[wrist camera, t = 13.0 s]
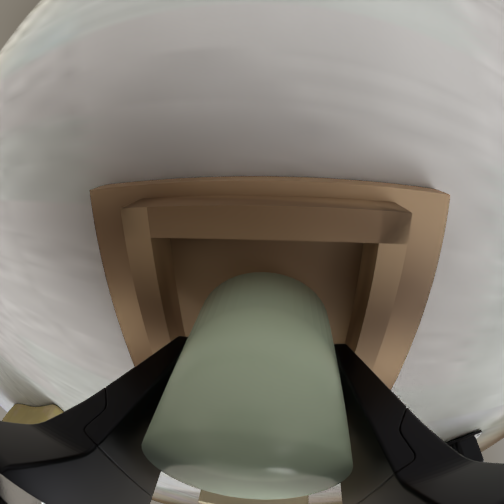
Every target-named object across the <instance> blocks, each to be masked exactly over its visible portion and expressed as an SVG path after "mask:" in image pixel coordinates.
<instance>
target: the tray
mask: <svg viewBox="0 0 504 504" xmlns="http://www.w3.org/2000/svg"><path fill="white" fill-rule="evenodd" d="M90 197H91V204H92V211H93V217H94V223H95V229H96V234H97V240H98V245H99V250H100V254H101V259H102V263H103V267H104V272H105V276H106V280H107V283H108V287H109V291H110V295H111V298H112V302H113V305H114V308H115V312H116V315H117V318H118V321H119V324H120V327H121V330H122V333H123V336H124V339H125V342H126V345H127V347H128V350H129V353H130V355H131V358H132V361H133V363H134V366H135V367H136V366H137V365H138V364H140V363H141V362H143V361H144V360H146V359H147V358H148V357H150V356H151V355H153V354H154V353H155V352H157V351H158V350H160V349H161V348H162V347H164V346H165V345H167V344H168V343H169V342H171V341H172V340H174V339H175V338H176V337H178V336H187V337H188V336H189V334H190V332H191V330H192V328H193V325H194V323H195V321H196V319H197V317H198V315H199V312H200V310H201V308H202V306H203V304H204V302H205V300H206V298H207V297H208V295H209V294H210V293H211V292H212V291H213V290H214V289H215V288H216V287H217V286H218V285H220V284H221V283H223V282H225V281H226V280H228V279H230V278H233V277H235V276H238V275H242V274H246V273H253V272H269V273H277V274H282V275H285V276H288V277H291V278H294V279H296V280H298V281H300V282H302V283H303V284H305V285H306V286H308V287H309V288H310V289H311V290H313V291H314V292H315V293H316V294H317V296H318V297H319V298H320V299H321V301H322V302H323V304H324V306H325V308H326V311H327V315H328V319H329V323H330V328H331V333H332V337H333V342H334V344H342V343H344V344H347V345H348V346H349V347H350V348H351V349H352V350H353V351H354V352H355V353H356V354H357V356H358V357H359V358H360V359H361V360H362V361H363V362H364V363H365V364H366V365H367V366H368V367H369V368H370V369H371V370H372V371H373V372H374V373H375V374H376V375H377V376H378V377H379V378H380V380H381V381H382V382H383V383H384V384H385V385H386V386H387V387H388V388H389V389H390V390H391V389H392V387H393V385H394V383H395V381H396V379H397V376H398V374H399V372H400V370H401V368H402V366H403V363H404V361H405V359H406V357H407V354H408V352H409V349H410V347H411V345H412V342H413V339H414V337H415V334H416V332H417V329H418V326H419V324H420V321H421V318H422V315H423V312H424V309H425V306H426V303H427V300H428V297H429V293H430V290H431V287H432V283H433V279H434V276H435V272H436V268H437V264H438V260H439V256H440V251H441V247H442V242H443V237H444V232H445V226H446V221H447V215H448V208H449V201H450V195H449V194H446V193H444V192H441V191H439V190H436V189H431V188H424V187H417V186H409V185H401V184H392V183H382V182H371V181H360V180H346V179H331V178H311V177H277V176H232V177H198V178H178V179H162V180H149V181H137V182H126V183H117V184H108V185H103V186H100V187H97V188H94V189H92V190H90Z"/></svg>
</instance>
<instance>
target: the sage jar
mask: <svg viewBox="0 0 504 504" xmlns="http://www.w3.org/2000/svg"><path fill="white" fill-rule="evenodd" d="M142 451H143V453H144V455H145V456H146V458H147V459H148V460H149V461H150V462H151V463H152V464H153V465H154V466H155V467H157V468H158V469H159V470H161V471H162V472H164V473H165V474H167V475H169V476H170V477H172V478H174V479H176V480H178V481H180V482H182V483H185V484H187V485H190V486H192V487H195V488H198V489H201V490H204V491H208V492H211V493H215V494H220V495H224V496H230V497H236V498H245V499H262V500H271V499H287V498H295V497H301V496H306V495H311V494H315V493H318V492H321V491H324V490H327V489H329V488H331V487H334V486H336V485H337V484H339V483H341V482H342V481H344V480H345V479H346V478H347V477H348V476H349V475H350V474H351V472H352V470H353V461H352V452H351V444H350V436H349V429H348V422H347V415H346V409H345V403H344V396H343V390H342V385H341V379H340V373H339V368H338V363H337V357H336V352H335V347H334V342H333V337H332V333H331V328H330V323H329V319H328V315H327V311H326V308H325V306H324V304H323V302H322V301H321V299H320V298H319V297H318V296H317V294H316V293H315V292H314V291H313V290H311V289H310V288H309V287H308V286H306V285H305V284H303V283H302V282H300V281H298V280H296V279H294V278H291V277H288V276H285V275H282V274H277V273H269V272H253V273H246V274H242V275H238V276H235V277H233V278H230V279H228V280H226V281H225V282H223V283H221V284H220V285H218V286H217V287H216V288H215V289H214V290H213V291H212V292H211V293H210V294H209V295H208V297H207V298H206V300H205V302H204V304H203V306H202V308H201V310H200V312H199V315H198V317H197V319H196V321H195V323H194V325H193V328H192V330H191V332H190V334H189V336H188V339H187V341H186V343H185V345H184V347H183V350H182V352H181V354H180V356H179V359H178V361H177V363H176V365H175V367H174V370H173V372H172V374H171V377H170V379H169V381H168V383H167V386H166V388H165V390H164V392H163V395H162V397H161V399H160V402H159V404H158V406H157V409H156V411H155V413H154V416H153V418H152V420H151V423H150V425H149V427H148V430H147V432H146V434H145V437H144V439H143V442H142Z"/></svg>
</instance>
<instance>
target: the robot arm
mask: <svg viewBox="0 0 504 504" xmlns="http://www.w3.org/2000/svg"><path fill="white" fill-rule="evenodd" d="M187 339H188V337H187V336H178V337H176V338H175V339H174V340H172V341H171V342H169V343H168V344H167V345H165V346H164V347H162V348H161V349H160V350H158V351H157V352H155V353H154V354H153V355H151V356H150V357H148V358H147V359H146V360H144V361H143V362H141V363H140V364H138V365H137V366H136V367H134V368H133V369H131V370H130V371H128V372H127V373H125V374H124V375H123V376H121V377H120V378H118V379H117V380H115V381H114V382H112V383H111V384H110V385H108V386H107V387H106V388H104V389H102V390H101V391H99V392H98V393H96V394H95V395H93V396H91V397H90V398H88V399H87V400H85V401H83V402H81V403H80V404H78V405H76V406H74V407H72V408H71V409H69V410H67V411H65V412H63V413H61V414H59V415H57V416H55V417H53V418H51V419H49V420H47V421H44V422H41V423H38V424H21V423H12V422H4V421H0V504H150V502H151V499H152V496H153V493H154V490H155V487H156V484H157V481H158V478H159V475H160V472H161V470H159V469H158V468H157V467H155V466H154V465H153V464H152V463H151V462H150V461H149V460H148V459H147V458H146V456H145V455H144V453H143V451H142V442H143V439H144V437H145V434H146V432H147V430H148V427H149V425H150V423H151V420H152V418H153V416H154V413H155V411H156V409H157V406H158V404H159V402H160V399H161V397H162V395H163V392H164V390H165V388H166V386H167V383H168V381H169V379H170V377H171V374H172V372H173V370H174V367H175V365H176V363H177V361H178V359H179V356H180V354H181V352H182V350H183V347H184V345H185V343H186V341H187ZM334 347H335V352H336V357H337V363H338V368H339V373H340V379H341V385H342V390H343V396H344V403H345V409H346V415H347V422H348V429H349V436H350V444H351V452H352V461H353V470H352V472H351V474H350V475H349V476H348V477H347V478H346V479H345V480H344V481H342V482H341V492H342V503H343V504H504V464H501V463H487V462H484V459H483V457H482V454H481V451H480V448H479V445H478V443H477V440H476V439H477V438H478V437H479V436H480V435H481V433H482V431H481V430H479V431H476V432H474V433H472V434H469V435H467V436H464V437H461V438H459V439H456V440H453V441H450V442H448V443H445V442H444V441H443V440H442V439H440V438H439V437H438V436H437V435H436V434H434V433H433V432H432V431H431V430H430V429H429V428H427V427H426V426H425V425H424V424H423V423H422V422H421V421H420V420H419V419H418V418H417V417H416V416H415V415H414V414H413V413H412V412H411V411H410V410H409V409H408V408H406V406H405V405H404V404H403V403H402V402H401V400H400V399H399V398H398V397H397V396H396V395H395V394H394V393H393V392H392V391H391V390H390V389H389V388H388V387H387V386H386V385H385V384H384V383H383V382H382V381H381V380H380V378H379V377H378V376H377V375H376V374H375V373H374V372H373V371H372V370H371V369H370V368H369V367H368V366H367V365H366V364H365V363H364V362H363V361H362V360H361V359H360V358H359V357H358V356H357V354H356V353H355V352H354V351H353V350H352V349H351V348H350V347H349V346H348V345H347V344H344V343H342V344H334Z"/></svg>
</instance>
